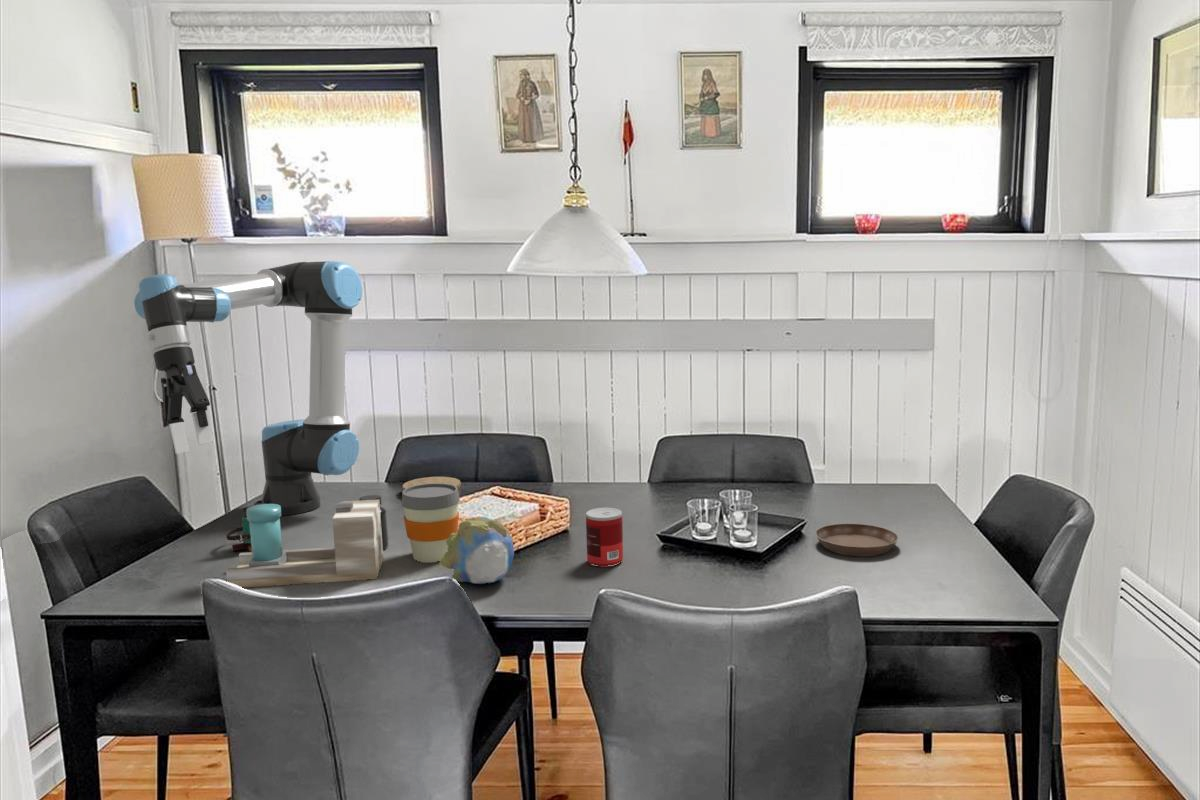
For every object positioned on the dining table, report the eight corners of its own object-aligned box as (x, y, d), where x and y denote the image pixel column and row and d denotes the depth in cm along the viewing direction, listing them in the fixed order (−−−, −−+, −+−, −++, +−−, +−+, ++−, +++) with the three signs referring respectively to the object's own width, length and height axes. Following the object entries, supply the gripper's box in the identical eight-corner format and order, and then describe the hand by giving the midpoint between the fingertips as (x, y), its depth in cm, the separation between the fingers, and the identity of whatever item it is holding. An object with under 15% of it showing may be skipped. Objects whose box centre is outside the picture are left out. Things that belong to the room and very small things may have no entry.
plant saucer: (833, 530, 223) (833, 518, 223) (908, 543, 213) (909, 529, 213) (802, 551, 209) (802, 538, 209) (881, 566, 199) (882, 552, 199)
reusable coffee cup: (436, 568, 203) (432, 500, 201) (392, 559, 210) (388, 493, 207) (473, 551, 214) (470, 486, 211) (431, 543, 220) (428, 480, 218)
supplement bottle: (395, 545, 220) (392, 494, 218) (376, 554, 214) (373, 502, 212) (371, 542, 222) (367, 492, 220) (351, 551, 216) (348, 499, 214)
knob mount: (242, 567, 207) (236, 502, 205) (383, 558, 210) (379, 495, 208) (226, 588, 194) (220, 519, 192) (376, 579, 198) (372, 511, 195)
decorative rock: (490, 517, 186) (511, 499, 200) (417, 538, 189) (443, 519, 204) (513, 584, 187) (532, 561, 201) (440, 603, 190) (464, 580, 205)
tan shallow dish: (392, 494, 265) (391, 484, 265) (440, 483, 276) (440, 473, 275) (423, 505, 254) (422, 494, 253) (472, 493, 264) (472, 483, 264)
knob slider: (256, 562, 205) (250, 504, 202) (288, 560, 205) (283, 502, 203) (247, 574, 197) (242, 514, 195) (281, 572, 198) (276, 512, 196)
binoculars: (234, 501, 225) (273, 498, 222) (242, 544, 226) (280, 541, 224) (212, 511, 216) (251, 508, 214) (220, 556, 217) (259, 553, 215)
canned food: (627, 557, 207) (626, 508, 206) (616, 569, 200) (615, 519, 198) (594, 554, 210) (593, 506, 208) (582, 566, 203) (580, 516, 201)
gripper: (134, 363, 206) (155, 459, 205) (174, 337, 188) (197, 442, 187) (170, 359, 211) (191, 453, 210) (212, 333, 193) (234, 436, 192)
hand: (194, 448), depth 199 cm, fingers open, 13 cm apart
